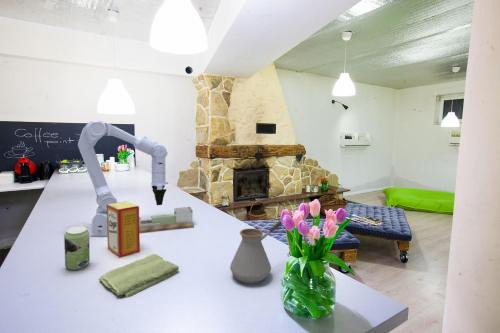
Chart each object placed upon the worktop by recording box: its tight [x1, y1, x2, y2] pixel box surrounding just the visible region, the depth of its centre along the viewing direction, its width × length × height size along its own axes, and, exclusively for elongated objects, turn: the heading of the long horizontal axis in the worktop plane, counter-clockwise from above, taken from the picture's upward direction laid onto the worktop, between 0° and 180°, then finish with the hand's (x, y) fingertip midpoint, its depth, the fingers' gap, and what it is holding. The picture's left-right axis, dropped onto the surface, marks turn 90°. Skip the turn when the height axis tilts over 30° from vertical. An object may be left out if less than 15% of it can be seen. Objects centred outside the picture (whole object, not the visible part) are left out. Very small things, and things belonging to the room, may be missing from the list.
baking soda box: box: [107, 200, 141, 259], centre depth 89 cm, size 10×6×16 cm
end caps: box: [139, 206, 194, 228], centre depth 116 cm, size 22×6×6 cm, turn 113°
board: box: [139, 222, 195, 234], centre depth 116 cm, size 22×12×1 cm, turn 113°
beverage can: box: [63, 225, 91, 271], centre depth 77 cm, size 6×7×12 cm
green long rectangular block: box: [150, 213, 176, 225], centre depth 116 cm, size 13×3×4 cm, turn 113°
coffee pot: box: [229, 220, 283, 285], centre depth 77 cm, size 21×12×15 cm, turn 130°
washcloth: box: [98, 253, 180, 298], centre depth 73 cm, size 13×18×3 cm
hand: (158, 202), depth 118 cm, fingers open, 7 cm apart
